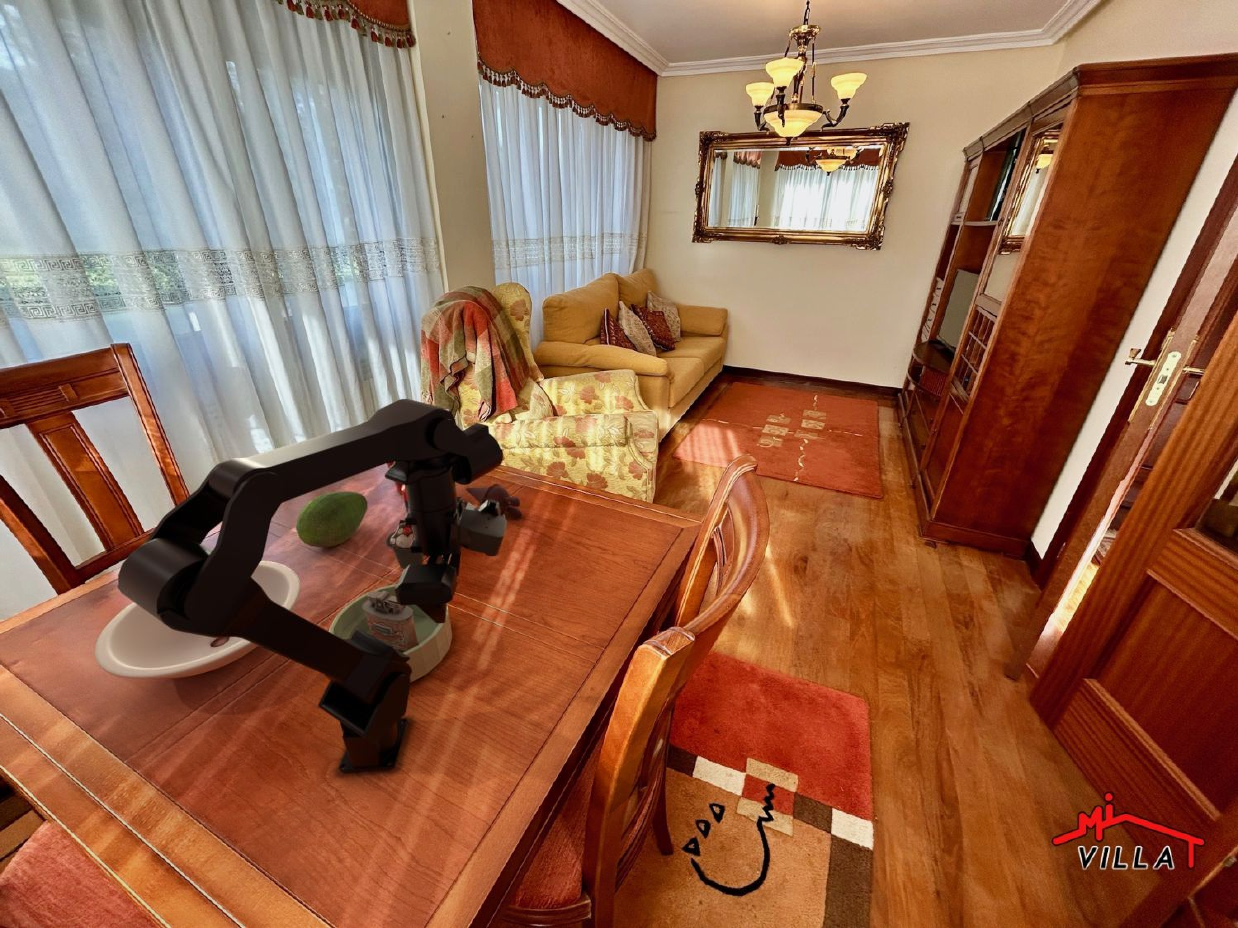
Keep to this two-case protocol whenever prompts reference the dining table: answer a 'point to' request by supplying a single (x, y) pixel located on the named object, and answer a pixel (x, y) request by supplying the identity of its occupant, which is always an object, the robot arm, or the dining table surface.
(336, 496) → the fruit
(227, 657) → the white sink basin
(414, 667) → the bowl
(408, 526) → the sundae
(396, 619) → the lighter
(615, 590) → the dining table surface
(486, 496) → the icecream
